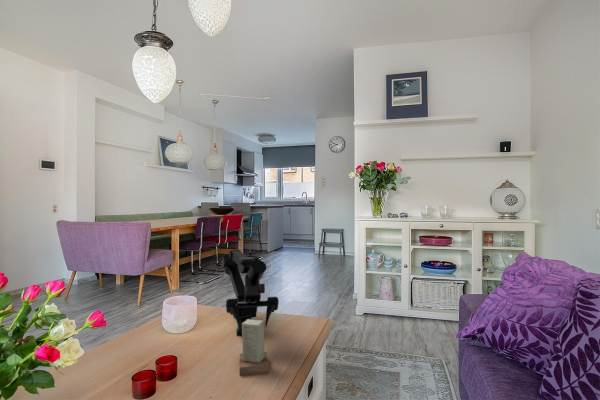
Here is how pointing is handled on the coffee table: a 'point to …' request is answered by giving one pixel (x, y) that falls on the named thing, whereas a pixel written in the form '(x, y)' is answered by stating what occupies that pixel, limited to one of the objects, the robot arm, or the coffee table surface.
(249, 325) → the skincare box
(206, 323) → the coffee table surface
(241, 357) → the walnut plinth
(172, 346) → the coffee table surface
